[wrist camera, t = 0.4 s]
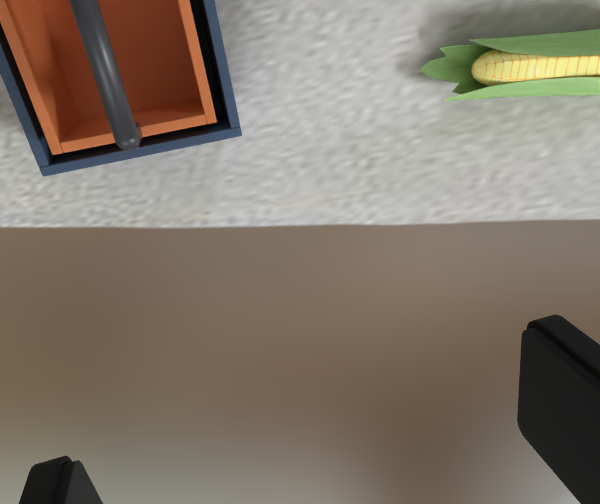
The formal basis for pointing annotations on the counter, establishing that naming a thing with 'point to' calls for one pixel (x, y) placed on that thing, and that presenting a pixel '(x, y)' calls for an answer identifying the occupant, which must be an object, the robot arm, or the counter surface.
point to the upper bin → (108, 69)
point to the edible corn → (522, 66)
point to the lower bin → (224, 128)
